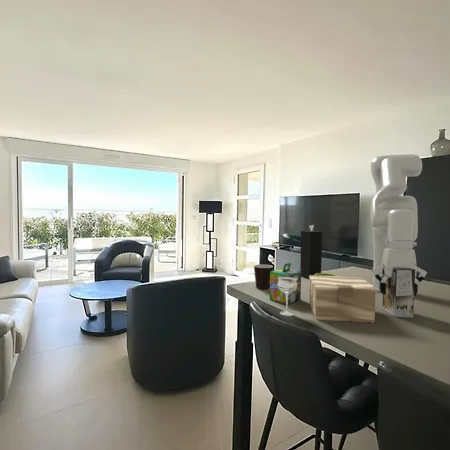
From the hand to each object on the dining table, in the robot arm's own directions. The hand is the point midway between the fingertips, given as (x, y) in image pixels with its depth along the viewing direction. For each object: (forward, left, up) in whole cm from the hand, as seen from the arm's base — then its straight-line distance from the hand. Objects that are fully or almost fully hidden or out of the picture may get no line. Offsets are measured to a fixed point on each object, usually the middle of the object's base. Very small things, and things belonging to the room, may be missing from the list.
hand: (398, 294), depth 105 cm
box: (+20, +3, -7) cm, 21 cm away
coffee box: (0, 0, -7) cm, 7 cm away
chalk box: (+38, -9, -7) cm, 40 cm away
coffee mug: (+48, -25, -7) cm, 55 cm away
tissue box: (+23, -53, -7) cm, 58 cm away
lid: (+20, +3, -1) cm, 20 cm away
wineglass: (+38, +7, -7) cm, 39 cm away
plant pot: (+21, -18, -7) cm, 29 cm away
